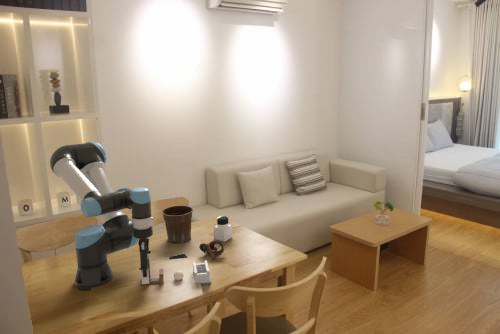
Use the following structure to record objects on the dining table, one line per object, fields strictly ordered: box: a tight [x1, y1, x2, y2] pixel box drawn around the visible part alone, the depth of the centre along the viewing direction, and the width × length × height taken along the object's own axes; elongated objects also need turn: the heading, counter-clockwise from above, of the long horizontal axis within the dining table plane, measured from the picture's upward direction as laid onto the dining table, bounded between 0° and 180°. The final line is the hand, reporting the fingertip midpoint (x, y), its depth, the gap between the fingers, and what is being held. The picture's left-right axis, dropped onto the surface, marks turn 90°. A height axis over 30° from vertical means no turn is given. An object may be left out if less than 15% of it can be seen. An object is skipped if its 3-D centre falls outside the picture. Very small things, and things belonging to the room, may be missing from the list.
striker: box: [139, 255, 165, 286], centre depth 164 cm, size 9×5×11 cm, turn 102°
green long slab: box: [192, 260, 212, 286], centre depth 167 cm, size 31×10×6 cm, turn 102°
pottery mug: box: [198, 239, 225, 260], centre depth 192 cm, size 12×10×8 cm
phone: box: [168, 253, 189, 260], centre depth 186 cm, size 8×1×15 cm
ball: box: [173, 270, 184, 281], centre depth 167 cm, size 4×4×4 cm
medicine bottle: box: [213, 215, 233, 243], centre depth 212 cm, size 7×7×12 cm
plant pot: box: [161, 205, 194, 244], centre depth 212 cm, size 16×16×16 cm
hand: (146, 275), depth 164 cm, fingers open, 12 cm apart
